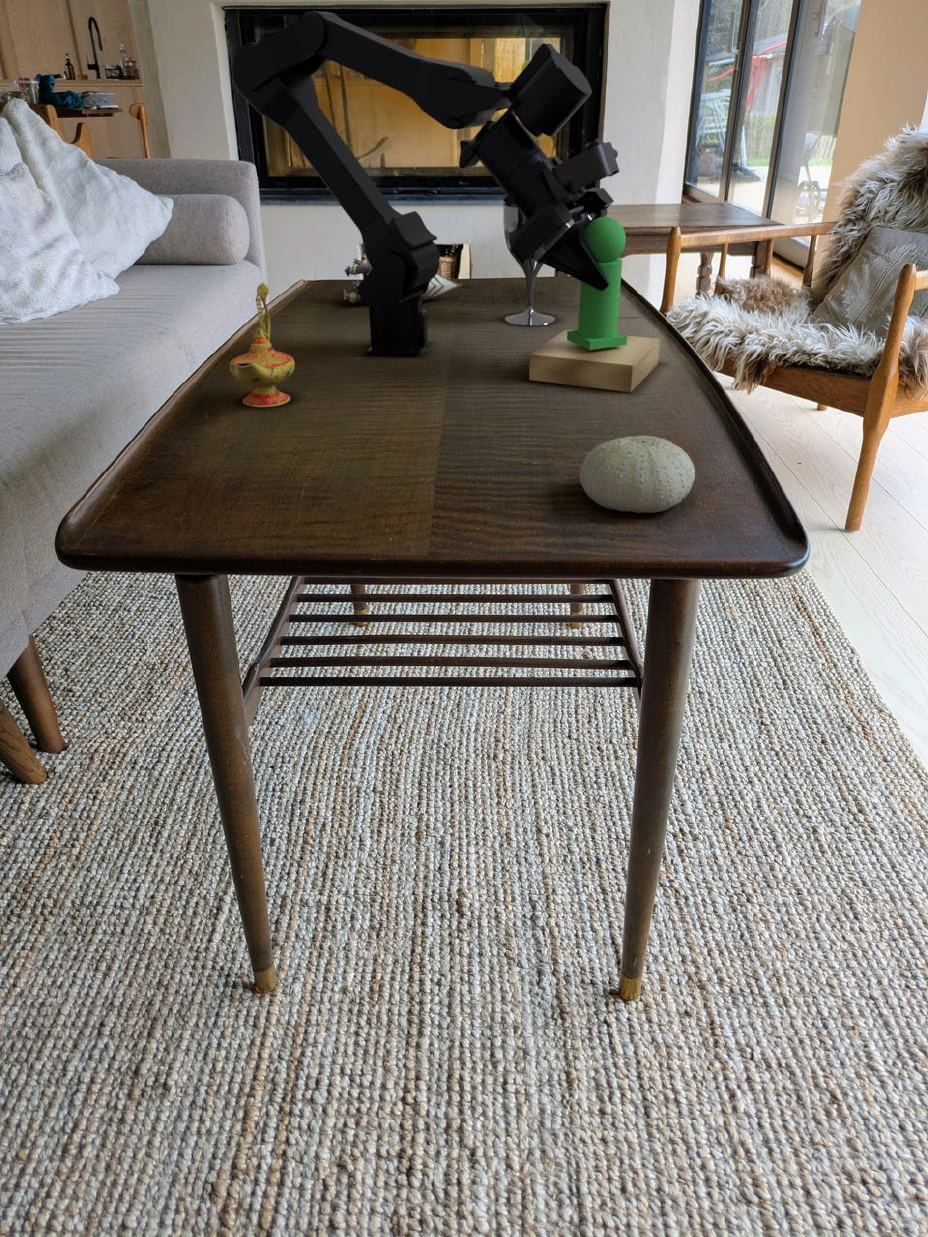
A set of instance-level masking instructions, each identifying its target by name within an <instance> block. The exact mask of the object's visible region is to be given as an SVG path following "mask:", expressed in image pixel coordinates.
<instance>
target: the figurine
mask: <svg viewBox="0 0 928 1237" xmlns="http://www.w3.org/2000/svg"><path fill="white" fill-rule="evenodd" d="M353 260H354V261H352V263H353V264H351V265H348V266H346V268H345V269H344V270H343V271H344V273H345V274H346V277H348V278H349V277H350V276H357V275H368V274H369V273H370V271H371V270H372V267H371V265H370V263H369V261H368V260H367V259H362V260H359V259H358V258H353ZM351 284H352V285H353V288H354V289H355V290H358V289H357V288H358V286H359V284H360V281H359V280H358V279H357V280H356V282H354V281H351ZM459 287H462V283H457V282H455V281H453V280H451V279H449V278H447V277H445V276H444V275H442V274H440V273H438V272H437V274H436V275H435V277H434V278H433V279H432V280H430V283H429V286H428V290H427V293H426V294H422V295H420V296H421V297H422V302H423V301H428V300H431V299H433V298H436V297H438V296H441V295H443V294H445V293H448V292H450V291H452V290H455V289H457V288H459ZM343 300H346V301H349V302H350V303H352V304H354V303H356V302H359V303H362V300H361V298H360V295H359V294H356V292H354V291H352V292H350V293H348V292H347V291H346V288H344V289H343Z"/></svg>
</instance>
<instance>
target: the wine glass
mask: <svg viewBox="0 0 928 1237" xmlns="http://www.w3.org/2000/svg"><path fill="white" fill-rule="evenodd" d="M526 222H527V219H526V218H525V217H524V216H523V214H522V213H521V212H520V211H519V209H518V208H517V207H516V206H515V205H514V206H511V207H508V206H507V204H506V203H505V202H503V205H502V224H503V225H502V226H503V233H504V234H503V235H504V239H505V243H506V247H507V250H508V252H509V254H510V255H511V257H513V259H514V260H515V261H516V263H517V264H518V265H519V267H520V268H521V269H522V272H523V274H524V277H525V280H526V281H525V282H526V292H527V303H526V304H527V305H526V310H525V311H523V312H519V313H514V314H510V315H506V316H505V317H504V321H505V322H506V323H508V324H512V325H516V326H530V327H531V326H532V327H533V326H544V325H548V324H552V323H554V322H555V320H556V319H555V317H553V315H549V314H545V313H539V312H538V311H536V310H534V291H535V284H536V280H537V276H538V274H539V272H540V270H541V269H542V267H543V266H544V264H540V263H539V262H538V260H539V258H540V257H541V256H542V255H543V254H544V253H545V252H546V251H545V249H544V248H543V247H542V246H543V245H544V244H543V245H542V246H541V247H540V248H539V249H538V250H537V251H536V252H535V253H534V255H535V257H534V258H533V259H532V260H531V261H529V262H527V263H525V264H522V263H521V262H520V261H519V259H518V258H517V257H516V256H515V254H514V253H513V252H512V237H513V236H514V235H515V234H516V233H517V232H518V231H519V230H520V228H521V227H522V226H523V225H524V224H525V223H526Z"/></svg>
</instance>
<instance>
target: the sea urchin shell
mask: <svg viewBox="0 0 928 1237" xmlns="http://www.w3.org/2000/svg"><path fill="white" fill-rule="evenodd" d="M695 474H696V469H695V465H694V463H693V461H692V459H691V457H690V456H689V454H688V453H687V452H686V451H685V450H684V449H683V448H682V447H680V446H679V445H676V444H675V443H673V442H672V441H671V440H670V441H669V440H667V439H665V438H660V437H658V436H654V435H653V436H651V435H650V436H649V435H637V436H625V437H621V438H619V437H617V438H615V439H611V440H610V439H609V440H607V441H604V442H603V443H600V444H597V445H596V446H594V447H593V448H592V449H591V450H589V451H588V452H587V454H586V455H585V457H584V458H583V460H582V463H581V465H580V468H579V473H578V478H579V483H580V484H581V487H582V489H583V490H584V493H585V494H587V495H586V497H588V498H590V500H592V501H594V502H595V503H596V504H597V505H598V506H601V507H603V508H606V509H607V510H616V511H620V512H633V513H636V514H639V513H649V514H650V513H651V514H654V513H660V512H664V511H667V510H669V509H670V508H672V507H674V506H677V505H678V504H680V503H681V501H682V500H683V499H684V498H685V499H686V497H687V496H688V495H689V494H690V492H691V490H692V488H693V485H694V481H695V479H696V475H695Z"/></svg>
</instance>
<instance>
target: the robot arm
mask: <svg viewBox="0 0 928 1237" xmlns="http://www.w3.org/2000/svg"><path fill="white" fill-rule="evenodd" d="M328 60H330V61H332V62H334V63H337V64H339V65H340V66H343V67H344V68H347V69H349V70H352V71H353V72H356V73H358V74H360V75H362V76H364V77H366V78H369V79H372V80H374V81H375V82H378V83H380V84H383V85H385V86H386V87H389V88H391V89H394V90H396V91H397V92H399V93H402V94H403V95H405V96H406V97H408V98H409V99H411V101H413V102H414V103H415V105H416V106H417V107H418V108H419V109H420V110H421V111H422V112H423V113H425V114H426V115H428V117H430V118H431V119H433V120H434V121H436V122H437V123H438V124H440V125H442V126H443V127H444V128H447V129H450V130H463V129H469V128H476V127H481V126H482V127H481V128H480V129H479V131H478V132H477V133H476V134H475V135H474V137H473V138H472V139H470V138H469V139H462V140H460V141H459V147H460V152H459V159H458V160H459V161H458V166H459V168H460V169H467V168H473V167H475V166H477V164H479V162H480V163H481V164H482V165H483V167H484V168H485V169H486V171H488V173H489V174H490V175H491V177H492V178H493V179H494V181H495V182H496V183H497V184H498V186H499V187H500V188H501V189H502V191H503V192H504V193H505V194H506V196H505V197H504V198H503V199H502V201H503V203H506V204H507V206H508V207H511V206H514V205H515V206H516V207H517V208H518V209H519V211H520V212H521V213H522V214H523V216H524V217H525V218H526V219H527V222H526V223H525V224H524V225H523V226H522V227H521V228H520V230H519V231H518V232H517V233H516V234H515V235H514V236H513V237H512V252H513V253H514V254H515V256H516V257H517V258H518V259H519V261H520V262H521V263H522V264H525V263H527V262H529V261H531V260H532V259H533V258H534V257H535V255H534V253H535V252H536V251H537V250H538V249H539V248H540V247H541V246H542V245H543V244H544V245H543V246H542V247H543V248H544V249H545V251H546V252H545V253H544V254H543V255H542V256H541V257H540V258H539V260H538V262H539V263H540V264H543V265H546V266H548V267H550V268H552V269H555V270H556V271H559V272H561V273H564V274H565V275H567V276H569V277H572V278H574V279H576V280H578V281H580V282H581V281H582V282H584V283H586V284H588V285H590V286H592V287H594V288H596V289H598V290H600V291H604V290H605V289H606V288H607V287H608V286H609V282H608V280H607V278H606V276H605V274H604V272H603V271H602V269H601V267H600V266H599V264H598V262H597V260H596V259H595V257H594V255H593V254H592V252H591V250H590V249H589V247H588V245H587V244H586V242H585V228H586V227H587V225H588V224H589V223H590V222H592V221H593V220H595V219H597V218H600V217H607V215H608V212H609V211H608V208H610V206H611V205H612V204H613V203H614V201H615V200H614V199H613V198H612V196H611V194H609V193H608V191H607V190H606V189H605V188H604V187H591V188H589V189H586V187H587V186H590V185H591V184H593V183H596V182H599V181H601V180H603V179H605V178H607V177H609V178H610V177H612V176H614V175H617V174H618V173H620V168H619V165H618V162H617V158H618V156H619V154H618V153H619V152H618V151H617V149H615V148H614V147H613V145H612V142H611V141H607V142H604V141H603V140H602V138H600V137H599V138H595V139H593V141H591V142H588V143H585V144H583V146H582V152H581V153H579V154H577V155H575V156H573V157H571V158H569V159H567V160H565V161H562V159H561V158H560V157H559V156H555V155H553V156H549V157H548V155H547V154H546V153H545V151H543V149H542V148H541V147H540V145H539V144H538V143H537V141H535V139H534V137H536V138H541V137H542V135H543V134H544V135H545V136H547V137H550V138H554V136H555V135H557V133H558V132H559V131H560V130H561V128H562V127H564V125H565V124H566V123H567V122H568V121H569V120H570V119H571V118H572V117H573V115H574V114H575V113H576V112H577V111H578V110H579V109H580V108H581V106H582V105H583V104H585V102H586V101H587V100H588V99H589V98H590V96H591V95H592V93H593V90H592V87H591V85H590V82H589V81H588V79H587V78H586V76H585V75H584V73H583V72H582V71H581V69H580V68H579V67H578V66H576V65H574V64H572V62H571V61H570V60H569V59H568V58H567V57H566V56H564V55H563V54H561V53H560V52H559V51H557V49H556V48H555V47H554V46H553V44H552V43H547V42H545V43H541V44H540V45H539V47H538V48H537V49H536V51H535V52H534V54H533V56H532V57H531V60H530V61H529V62H528V63H527V65H525V67H524V68H523V70H521V72H520V73H519V74H518V76H517V77H516V78H515V79H514V80H513V81H504V82H503V81H496V78H495V76H494V75H493V74H492V72H490V71H489V70H487V69H486V68H485V67H481V66H476V65H471V64H466V63H461V62H456V61H450V60H444V59H437V58H432V57H427V56H424V55H422V54H420V53H418V52H415V51H413V50H411V49H408V48H406V47H404V46H401V45H400V44H397V43H396V42H392V41H391V40H388V39H386V38H384V37H381V36H379V35H377V34H375V33H372V32H370V31H369V30H367V29H364V28H361V27H359V26H357V25H355V24H352V23H350V22H348V21H345V20H343V19H341V17H339V16H338V15H337V14H336V13H334V12H328V11H316V10H311V11H307V12H305V13H304V14H303V15H301V16H300V17H299V18H297V19H296V20H294V21H293V22H292V23H290V24H288V25H287V26H284V27H282V28H281V29H279V30H277V31H275V32H273V33H271V34H269V35H267V36H265V37H263V38H262V39H261V40H259V41H258V42H247V43H245V44H242V45H241V46H239V48H238V49H237V50H236V52H235V54H234V56H233V62H232V76H231V78H232V81H233V84H234V86H235V88H236V90H237V92H238V93H239V94H240V95H241V96H242V97H243V98H244V99H245V100H246V101H247V102H248V103H249V104H250V105H251V106H252V107H253V108H254V109H255V110H256V112H258V113H259V114H260V115H262V116H263V117H265V118H267V120H270V121H271V122H273V123H274V124H276V125H277V126H278V127H280V128H281V129H283V130H284V132H286V133H287V135H288V136H289V138H291V140H292V141H293V143H294V144H295V145H296V147H297V148H298V149H299V151H300V152H301V153H302V155H303V156H304V158H305V159H306V160H307V162H308V163H309V164H310V166H311V167H312V168H313V171H314V172H316V174H317V175H318V177H319V178H320V179H321V180H322V182H323V183H324V184H325V186H326V187H327V189H328V190H329V192H330V193H331V194H332V195H333V197H334V198H335V200H336V201H337V202H338V204H339V205H340V206H341V208H342V209H343V211H344V212H345V213H346V215H347V216H348V217H349V219H350V220H351V221H352V223H353V224H354V225H355V227H356V228H357V230H358V231H359V233H360V235H361V239H362V244H363V248H364V252H365V257H366V260H367V262H369V263H370V265H371V267H372V270H371V271H370V273H368V274H366V276H365V277H364V278H363V280H362V281H361V282H359V286H358V288H357V289H356V290H357V292H358V295H360V298H361V300H362V302H361V303H362V305H365V306H368V316H369V317H368V318H369V331H370V332H369V334H370V346H369V348H368V350H367V353H368V355H379V356H380V355H381V356H382V355H385V356H387V355H388V356H419V355H420V354H421V352H422V351H423V349H424V348H425V347H426V345H427V343H428V341H429V340H428V310H426V309H425V308H423V301H422V297H421V296H420V295H422V294H426V293H427V290H428V286H429V283H430V280H432V279H433V278H434V277H435V275H436V274H437V273H438V272H439V269H440V262H441V261H440V260H441V259H440V258H441V253H440V250H439V247H438V246H437V244H436V243H435V241H437V239H438V236H436V235H435V234H434V233H432V232H431V231H430V230H429V229H428V228H427V226H426V224H425V222H424V221H423V218H422V217H421V216H420V214H419V212H417V211H416V210H413V211H409V212H405V213H403V214H402V213H401V212H399V211H398V210H396V209H395V208H393V206H391V204H390V203H389V201H388V200H387V198H386V197H385V196H384V194H383V193H382V192H381V190H380V189H379V187H378V186H377V185H376V184H375V182H374V180H373V179H372V178H371V177H370V175H369V174H368V172H367V171H366V169H365V168H364V167H363V165H362V164H361V162H359V160H358V159H357V157H356V156H355V155H354V153H353V152H352V150H351V149H350V147H349V146H348V144H346V142H345V140H344V139H343V138H342V137H341V135H340V134H339V132H338V131H337V129H336V128H335V127H334V125H333V124H332V123H331V121H330V120H329V119H328V117H327V116H326V115H325V113H324V111H322V109H321V107H320V105H319V103H318V99H317V94H316V91H315V86H314V81H313V79H312V76H313V75H314V74H316V73H317V72H318V71H320V69H321V68H322V67H323V66H324V65H325V63H326V62H327V61H328ZM503 110H506V111H505V112H504V113H503V114H502V115H501V116H500V117H499V118H498V119H497V120H496V121H495V120H492V118H493V117H494V116H495V114H496V112H499V111H503ZM532 136H533V137H532Z"/></svg>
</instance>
